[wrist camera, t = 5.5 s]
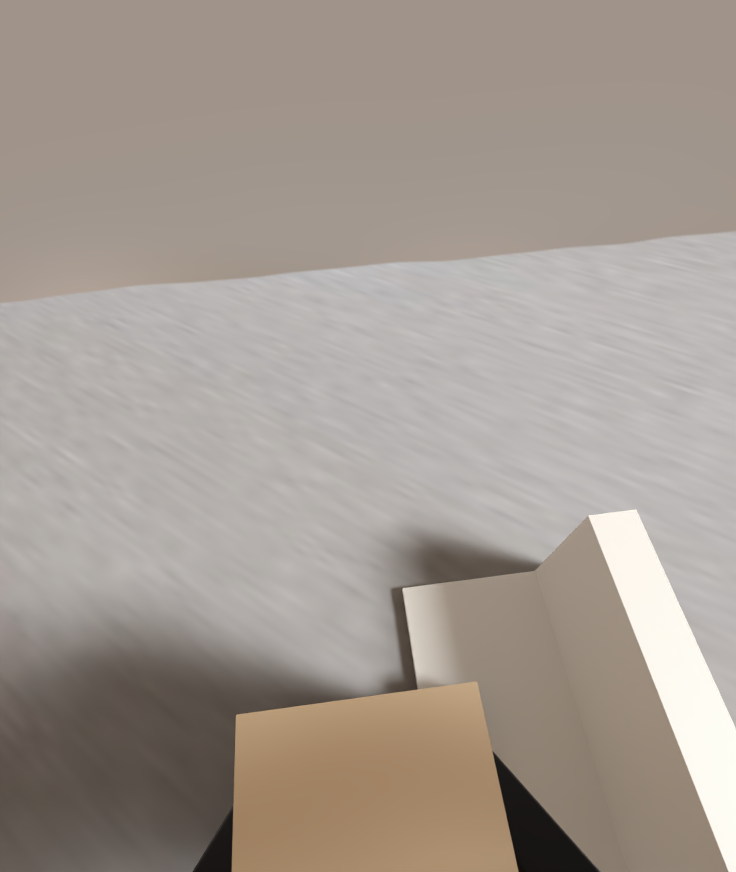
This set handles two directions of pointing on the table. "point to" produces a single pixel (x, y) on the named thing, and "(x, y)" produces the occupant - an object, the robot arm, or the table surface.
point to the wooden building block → (370, 787)
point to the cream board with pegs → (594, 697)
